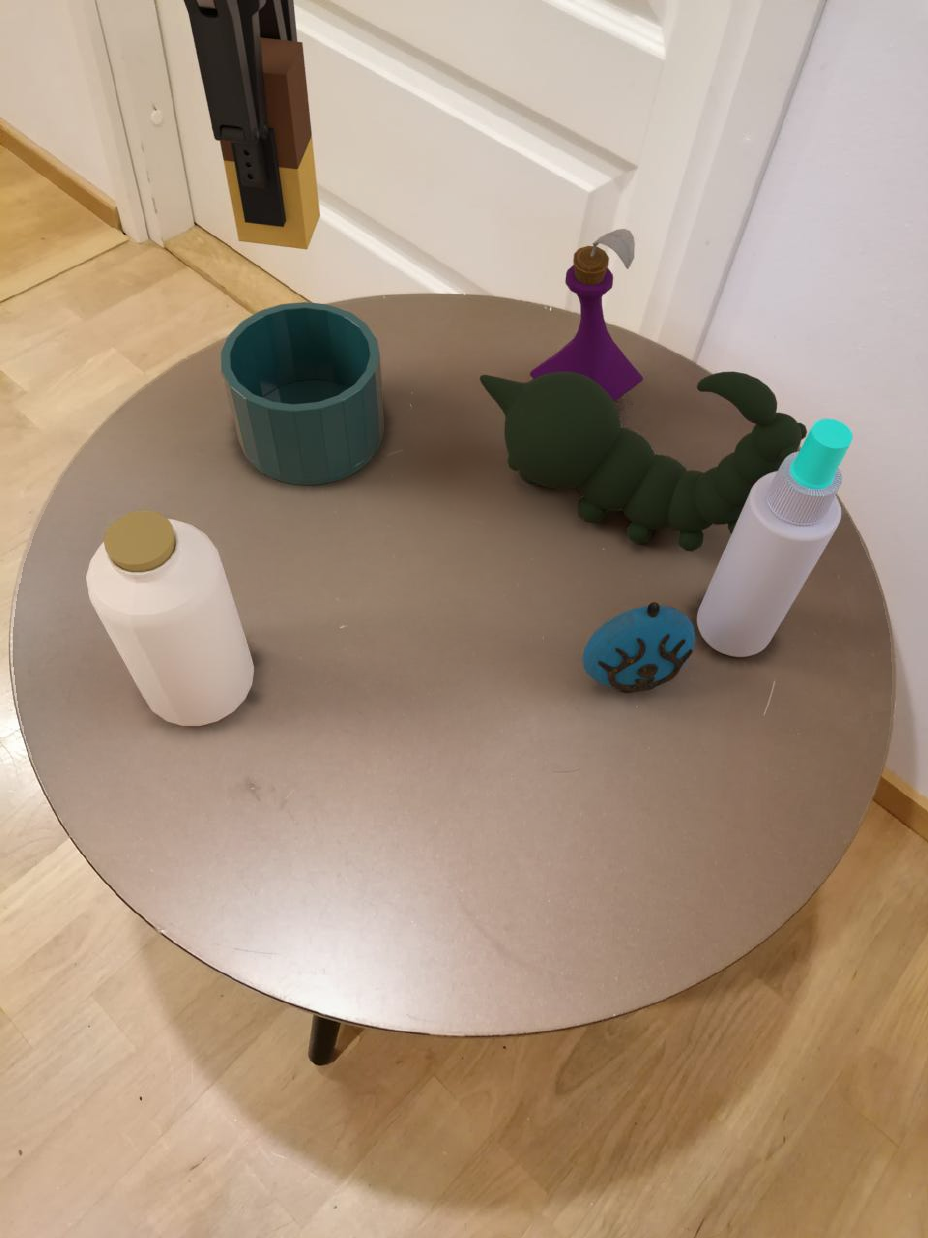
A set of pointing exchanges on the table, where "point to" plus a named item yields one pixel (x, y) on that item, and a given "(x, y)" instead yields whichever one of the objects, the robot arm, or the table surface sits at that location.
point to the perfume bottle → (595, 320)
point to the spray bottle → (775, 544)
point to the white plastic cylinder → (171, 617)
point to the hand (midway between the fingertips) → (274, 200)
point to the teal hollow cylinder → (305, 392)
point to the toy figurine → (638, 453)
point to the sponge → (283, 149)
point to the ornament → (640, 648)
